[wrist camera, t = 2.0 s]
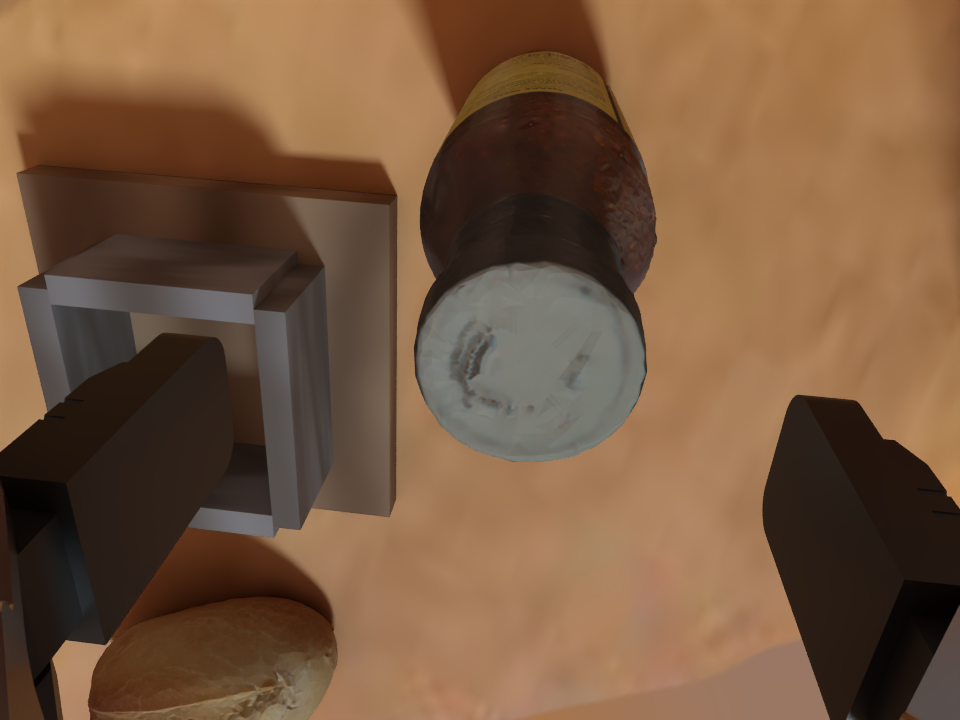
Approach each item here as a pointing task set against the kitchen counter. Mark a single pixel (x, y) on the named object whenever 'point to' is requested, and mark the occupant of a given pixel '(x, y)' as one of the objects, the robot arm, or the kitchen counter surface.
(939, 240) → the kitchen counter surface
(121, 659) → the bread roll
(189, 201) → the grey open box
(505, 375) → the sauce bottle
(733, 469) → the kitchen counter surface
